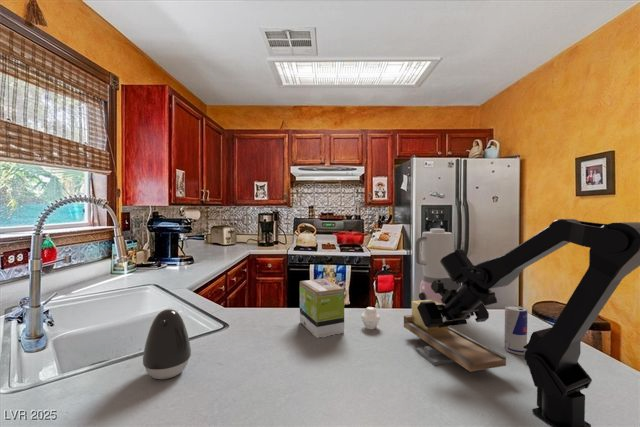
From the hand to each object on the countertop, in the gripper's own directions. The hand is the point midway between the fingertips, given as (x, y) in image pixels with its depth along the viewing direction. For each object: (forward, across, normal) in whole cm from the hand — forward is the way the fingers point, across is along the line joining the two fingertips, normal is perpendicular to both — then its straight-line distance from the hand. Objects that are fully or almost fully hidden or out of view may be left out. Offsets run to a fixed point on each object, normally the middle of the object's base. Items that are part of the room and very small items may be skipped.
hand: (438, 326), depth 88 cm
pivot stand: (+2, 0, +7) cm, 7 cm away
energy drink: (0, -20, +10) cm, 22 cm away
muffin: (+18, +12, -9) cm, 24 cm away
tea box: (+21, +28, -12) cm, 37 cm away
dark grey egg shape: (+8, +71, +1) cm, 72 cm away
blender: (+23, -17, -14) cm, 32 cm away
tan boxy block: (+4, 0, -2) cm, 5 cm away
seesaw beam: (0, 0, +5) cm, 5 cm away
